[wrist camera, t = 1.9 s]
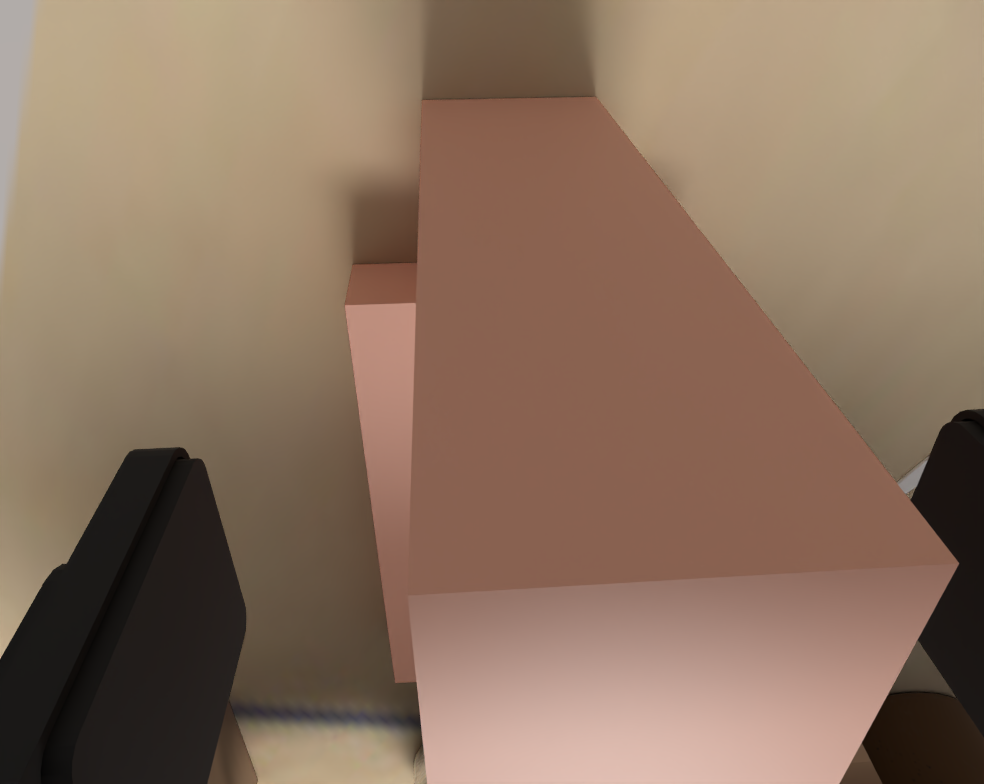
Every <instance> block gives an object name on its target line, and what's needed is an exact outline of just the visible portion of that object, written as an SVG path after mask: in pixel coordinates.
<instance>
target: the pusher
mask: <svg viewBox="0 0 984 784" xmlns="http://www.w3.org/2000/svg"><path fill="white" fill-rule="evenodd" d="M345 312H346V319H347V327H348V334H349V342H350V349H351V357H352V364H353V372H354V379H355V387H356V394H357V402H358V409H359V417H360V424H361V432H362V439H363V447H364V454H365V462H366V469H367V477H368V484H369V492H370V499H371V507H372V514H373V522H374V529H375V537H376V544H377V552H378V559H379V567H380V574H381V582H382V589H383V597H384V604H385V612H386V619H387V627H388V634H389V641H390V649H391V656H392V664H393V671H394V679H395V683H405V682H417V691H418V701H419V710H420V720H421V729H422V739H423V749H424V758H425V768H426V777H427V784H839V783H840V782H841V780H842V778H843V776H844V774H845V772H846V771H847V769H848V767H849V765H850V763H851V761H852V759H853V758H854V756H855V754H856V752H857V750H858V748H859V747H860V745H861V743H862V741H863V739H864V737H865V736H866V734H867V732H868V730H869V728H870V726H871V725H872V723H873V721H874V719H875V717H876V715H877V714H878V712H879V710H880V708H881V706H882V704H883V703H884V701H885V699H886V697H887V695H888V693H889V692H890V690H891V688H892V686H893V684H894V682H895V680H896V679H897V677H898V675H899V673H900V671H901V669H902V668H903V666H904V664H905V662H906V660H907V658H908V657H909V655H910V653H911V651H912V649H913V647H914V646H915V644H916V642H917V640H918V638H919V636H920V635H921V633H922V631H923V629H924V627H925V625H926V624H927V622H928V620H929V618H930V616H931V614H932V613H933V611H934V609H935V607H936V605H937V603H938V601H939V600H940V598H941V596H942V594H943V592H944V590H945V589H946V587H947V585H948V583H949V581H950V579H951V578H952V576H953V574H954V572H955V570H956V568H957V567H958V565H959V562H958V561H957V560H956V558H955V557H954V556H953V555H952V553H951V552H950V551H949V549H948V548H947V547H946V546H945V544H944V543H943V542H942V541H941V539H940V538H939V537H938V535H937V534H936V533H935V532H934V530H933V529H932V528H931V526H930V525H929V524H928V523H927V521H926V520H925V519H924V517H923V516H922V515H921V514H920V512H919V511H918V510H917V508H916V507H915V506H914V505H913V503H912V502H911V501H910V499H909V498H908V497H907V496H906V494H905V493H904V492H903V490H902V489H901V488H900V487H899V485H898V484H897V483H896V481H895V480H894V479H893V478H892V476H891V475H890V474H889V472H888V471H887V470H886V469H885V467H884V466H883V465H882V463H881V462H880V461H879V460H878V458H877V457H876V456H875V454H874V453H873V452H872V451H871V449H870V448H869V447H868V445H867V444H866V443H865V442H864V440H863V439H862V438H861V436H860V435H859V434H858V433H857V431H856V430H855V429H854V427H853V426H852V425H851V424H850V422H849V421H848V420H847V418H846V417H845V416H844V415H843V413H842V412H841V411H840V409H839V408H838V407H837V406H836V404H835V403H834V402H833V400H832V399H831V398H830V397H829V395H828V394H827V393H826V391H825V390H824V389H823V388H822V386H821V385H820V384H819V383H818V381H817V380H816V379H815V377H814V376H813V375H812V374H811V372H810V371H809V370H808V368H807V367H806V366H805V365H804V363H803V362H802V361H801V359H800V358H799V357H798V356H797V354H796V353H795V352H794V350H793V349H792V348H791V347H790V345H789V344H788V343H787V341H786V340H785V339H784V338H783V336H782V335H781V334H780V332H779V331H778V330H777V329H776V327H775V326H774V325H773V323H772V322H771V321H770V320H769V318H768V317H767V316H766V314H765V313H764V312H763V311H762V309H761V308H760V307H759V305H758V304H757V303H756V302H755V300H754V299H753V298H752V296H751V295H750V294H749V293H748V291H747V290H746V289H745V287H744V286H743V285H742V284H741V282H740V281H739V280H738V278H737V277H736V276H735V275H734V273H733V272H732V271H731V269H730V268H729V267H728V266H727V264H726V263H725V262H724V260H723V259H722V258H721V257H720V255H719V254H718V253H717V251H716V250H715V249H714V248H713V246H712V245H711V244H710V242H709V241H708V240H707V239H706V237H705V236H704V235H703V233H702V232H701V231H700V230H699V228H698V227H697V226H696V225H695V223H694V222H693V221H692V219H691V218H690V217H689V216H688V214H687V213H686V212H685V210H684V209H683V208H682V207H681V205H680V204H679V203H678V201H677V200H676V199H675V198H674V196H673V195H672V194H671V192H670V191H669V190H668V189H667V187H666V186H665V185H664V183H663V182H662V181H661V180H660V178H659V177H658V176H657V174H656V173H655V172H654V171H653V169H652V168H651V167H650V165H649V164H648V163H647V162H646V160H645V159H644V158H643V156H642V155H641V154H640V153H639V151H638V150H637V149H636V147H635V146H634V145H633V144H632V142H631V141H630V140H629V138H628V137H627V136H626V135H625V133H624V132H623V131H622V129H621V128H620V127H619V126H618V124H617V123H616V122H615V120H614V119H613V118H612V117H611V115H610V114H609V113H608V111H607V110H606V109H605V108H604V106H603V105H602V104H601V102H600V101H599V100H598V99H597V97H554V98H501V99H448V100H422V110H421V145H420V180H419V215H418V250H417V263H388V264H356V265H352V271H351V276H350V281H349V286H348V291H347V296H346V301H345Z"/></svg>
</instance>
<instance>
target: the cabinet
mask: <svg viewBox="0 0 984 784" xmlns="http://www.w3.org/2000/svg"><path fill="white" fill-rule="evenodd" d="M257 782H258V779H257V776H256V774H255V771H254V768H253V766H252V763H251V760H250V757H249V755H248V752H247V749H246V747H245V744H244V741H243V738H242V736H241V733H240V730H239V727H238V725H237V722H236V719H235V717H234V714H233V711H232V708H231V706H230V703H229V700H228V704H227V708H226V712H225V716H224V720H223V724H222V728H221V731H220V735H219V739H218V743H217V747H216V751H215V755H214V759H213V763H212V767H211V771H210V775H209V779H208V783H207V784H257ZM839 784H882V782H881V780H880V778H879V776H878V774H877V772H876V770H875V768H874V766H873V764H872V762H871V760H870V758H869V756H868V754H867V752H866V750H865V748H864V746H863V744H862V743H861V745H860V747H859V748H858V750H857V752H856V754H855V756H854V758H853V759H852V761H851V763H850V765H849V767H848V769H847V771H846V772H845V774H844V776H843V778H842V780H841V782H840V783H839Z"/></svg>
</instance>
